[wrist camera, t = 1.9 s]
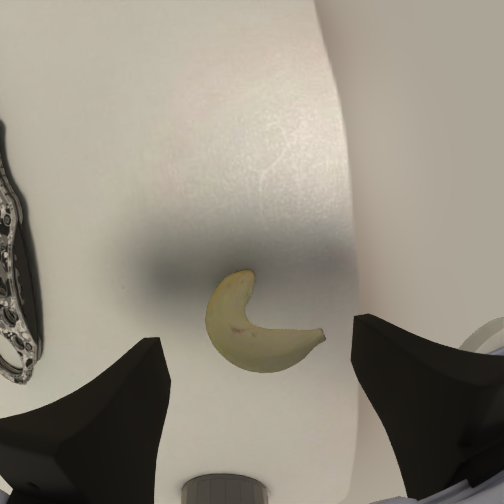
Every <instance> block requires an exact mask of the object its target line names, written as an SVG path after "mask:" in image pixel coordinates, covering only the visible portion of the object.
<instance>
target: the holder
mask: <svg viewBox="0 0 504 504" xmlns="http://www.w3.org/2000/svg"><path fill="white" fill-rule="evenodd" d="M181 504H268V496H267V490H266V488H265V486H264V485H263V484H261V483H260V482H258V481H256V480H254V479H252V478H248V477H244V476H239V475H231V474H213V475H206V476H201V477H197V478H195V479H192V480H190V481H189V482H187V483H186V484H185V485H184V487H183V490H182V497H181Z"/></svg>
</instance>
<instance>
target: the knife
mask: <svg viewBox="0 0 504 504" xmlns="http://www.w3.org/2000/svg"><path fill="white" fill-rule="evenodd" d="M22 219H23V215H22V209H21V205H20V202H19V199H18V197H17V196H16V195H15V193H14V191H13V189H12V188H11V186H10V184H9V182H8V179H7V177H6V175H5V171H4V168H3V165H2V160H1V155H0V277H1V278H2V279H3V281H4V283H5V285H6V289H7V291H5V290H4V289H3V287H2V286H1V284H0V334H1V335H2V336H4V337H5V338H6V339H7V340H8V341H9V342H10V343H11V344H12V345H13V347H14V348H15V349H16V351H17V353H18V355H19V356H20V359H21V361H22V365H23V371H20V370H16V369H14V368H12V367H11V366H9V365H8V364H7V363H6V362H5V361H4V360H3V359H2V358H1V357H0V374H1V375H3V376H4V377H5V378H7V379H8V380H10V381H12V382H14V383H17V384H20V385H26V383H27V381H29V380H30V375H31V369H32V368H33V365H35V364H36V363H37V361H38V360H39V359H40V354H41V340H40V338H39V335H38V320H37V312H36V303H35V296H34V289H33V283H32V276H31V271H30V265H29V260H28V255H27V250H26V245H25V241H24V237H23V232H22V228H21V224H22ZM18 270H19V273H20V275H19V273H18ZM20 284H21V285H22V289H23V290H21V287H20ZM9 310H10V311H11V312H12V313H13V315H14V317H15V319H14V318H13V317H12V315H11V314H10V312H9Z"/></svg>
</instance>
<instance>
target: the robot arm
mask: <svg viewBox="0 0 504 504" xmlns="http://www.w3.org/2000/svg"><path fill="white" fill-rule="evenodd" d="M351 363H352V365H353V368H354V371H355V373H356V376H357V378H358V381H359V383H360V384H361V386H362V388H363V390H364V391H365V393H366V395H367V397H368V399H369V400H370V402H371V404H372V406H373V407H374V409H375V411H376V412H377V414H378V416H379V418H380V420H381V421H382V424H383V426H384V427H385V430H386V432H387V435H388V437H389V440H390V442H391V445H392V447H393V450H394V453H395V456H396V459H397V462H398V465H399V468H400V471H401V475H402V478H403V481H404V485H405V488H406V492H407V496H408V498H405V497H399V496H398V497H395V498H390V499H385V500H381V501H376V502H373V503H370V504H504V347H502V348H499V349H497V350H495V351H492V352H490V353H487V354H481V353H475V352H469V351H464V350H459V349H455V348H452V347H448V346H444V345H441V344H438V343H435V342H432V341H430V340H427V339H425V338H422V337H420V336H417V335H415V334H412V333H410V332H408V331H406V330H404V329H402V328H399V327H397V326H395V325H393V324H391V323H389V322H387V321H385V320H383V319H381V318H378V317H376V316H374V315H371V314H364V315H358V316H354V323H353V337H352V350H351ZM170 387H171V379H170V375H169V371H168V368H167V364H166V360H165V357H164V353H163V349H162V345H161V341H160V337H152V338H143V339H142V340H141V341H139V342H138V343H137V344H136V345H135V346H133V347H132V348H131V349H130V350H129V351H128V352H127V353H125V354H124V355H123V356H122V357H121V358H120V359H119V360H117V361H116V362H115V363H114V364H113V365H111V366H110V367H109V368H108V369H106V370H105V371H104V372H102V373H101V374H100V375H99V376H97V377H96V378H95V379H93V380H92V381H90V382H89V383H87V384H86V385H84V386H83V387H81V388H79V389H78V390H76V391H75V392H73V393H71V394H69V395H67V396H65V397H63V398H61V399H59V400H57V401H55V402H53V403H51V404H48V405H46V406H43V407H41V408H38V409H35V410H32V411H29V412H26V413H22V414H18V415H14V416H10V417H6V418H1V419H0V475H1V476H2V477H3V479H4V480H5V481H6V482H7V483H8V484H9V485H10V486H11V487H12V488H13V491H12V493H11V495H9V494H7V493H6V492H4V491H2V490H1V489H0V504H154V486H155V471H156V459H157V453H158V447H159V443H160V439H161V434H162V430H163V426H164V422H165V418H166V413H167V409H168V405H169V398H170Z"/></svg>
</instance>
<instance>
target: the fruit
mask: <svg viewBox="0 0 504 504" xmlns="http://www.w3.org/2000/svg"><path fill="white" fill-rule="evenodd" d="M254 282H255V275H254V273H253V272H252V271H250V270H242V271H240V272H236V273H233V274H230V275H229V276H227V277H226V278H225V279H224V280H222V282H221V283H220V284H219V285H218V287H217V288H216V289H215V291H214V293H213V295H212V296H211V299H210V301H209V303H208V306H207V311H206V330H207V333H208V335H209V338H210V340H211V342H212V344H213V345H214V347H215V348H216V349H217V351H218V352H219V353H220V354H221V355H222V356H223V357H225V358H226V359H227V360H228V361H229V362H231V363H232V364H234V365H236V366H237V367H240V368H242V369H244V370H248V371H252V372H259V373H273V372H278V371H282V370H284V369H287V368H289V367H291V366H293V365H295V364H297V363H298V362H300V361H301V360H302V359H304V358H305V357H306V356H307V355H308V353H309V352H310V351H311V350H312V349H313V348H314V347H315V346H317V345H318V344H320V343H322V342H323V341H325V340H326V337H325V335H324V332H323V330H322V329H315V330H274V329H265V328H261V327H257V326H255V325H253V324H251V323H250V322H249V320H248V319H247V317H246V314H245V307H246V304H247V302H248V300H249V299H250V296H251V294H252V290H253V286H254Z"/></svg>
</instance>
